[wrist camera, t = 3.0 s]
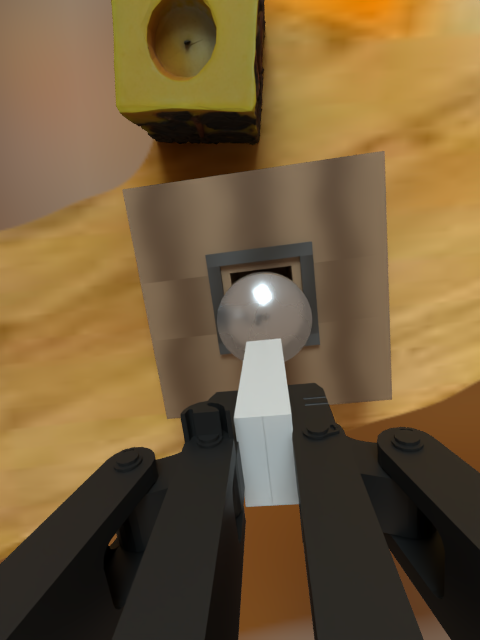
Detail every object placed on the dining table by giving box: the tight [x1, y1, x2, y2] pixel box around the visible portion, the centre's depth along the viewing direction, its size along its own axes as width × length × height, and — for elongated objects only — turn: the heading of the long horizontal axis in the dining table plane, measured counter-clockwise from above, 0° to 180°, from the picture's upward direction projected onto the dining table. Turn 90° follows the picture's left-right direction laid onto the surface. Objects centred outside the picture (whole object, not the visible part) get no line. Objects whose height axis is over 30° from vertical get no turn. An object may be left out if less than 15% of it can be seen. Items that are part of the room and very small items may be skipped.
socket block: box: [123, 151, 392, 419], centre depth 33 cm, size 20×20×8 cm
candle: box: [111, 0, 266, 145], centre depth 28 cm, size 10×10×10 cm
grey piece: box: [217, 272, 312, 362], centre depth 27 cm, size 6×6×8 cm
